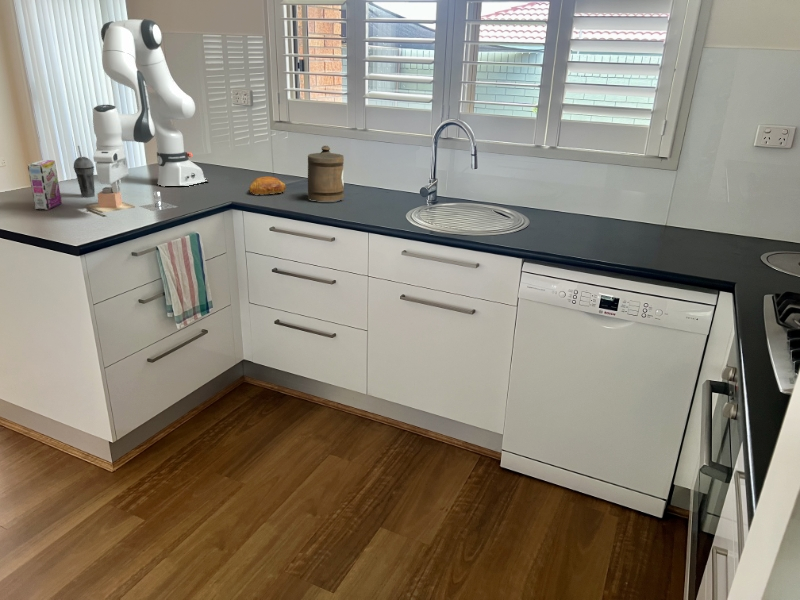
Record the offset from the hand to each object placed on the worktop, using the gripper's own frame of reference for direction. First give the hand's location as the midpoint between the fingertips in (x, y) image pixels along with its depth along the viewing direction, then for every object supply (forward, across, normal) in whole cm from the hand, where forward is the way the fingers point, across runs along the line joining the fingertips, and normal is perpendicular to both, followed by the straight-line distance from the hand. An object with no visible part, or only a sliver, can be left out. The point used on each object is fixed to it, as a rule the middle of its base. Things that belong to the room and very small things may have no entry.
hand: (116, 192), depth 216 cm
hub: (+7, 0, -3) cm, 8 cm away
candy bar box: (+7, -6, -27) cm, 28 cm away
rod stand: (+7, -2, +13) cm, 15 cm away
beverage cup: (+7, -24, -20) cm, 32 cm away
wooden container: (+7, -26, +75) cm, 79 cm away
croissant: (+8, -37, +49) cm, 62 cm away
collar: (+5, 0, -3) cm, 6 cm away
